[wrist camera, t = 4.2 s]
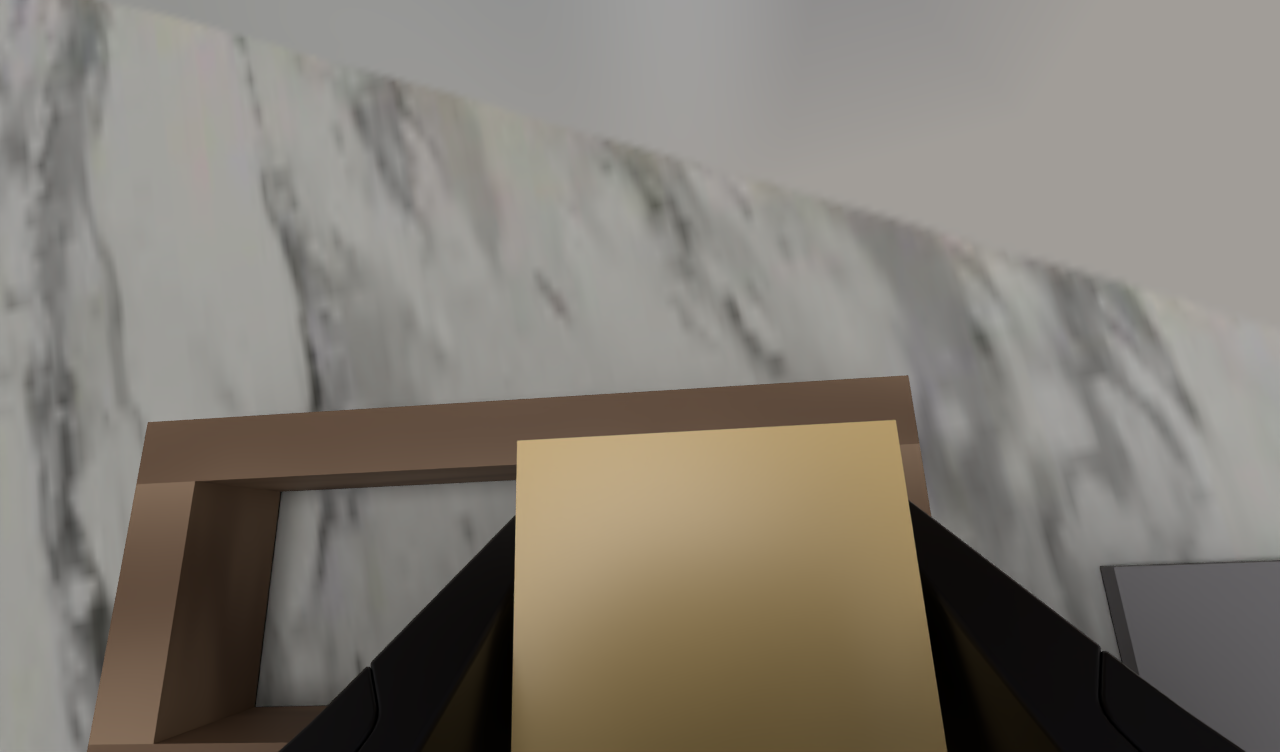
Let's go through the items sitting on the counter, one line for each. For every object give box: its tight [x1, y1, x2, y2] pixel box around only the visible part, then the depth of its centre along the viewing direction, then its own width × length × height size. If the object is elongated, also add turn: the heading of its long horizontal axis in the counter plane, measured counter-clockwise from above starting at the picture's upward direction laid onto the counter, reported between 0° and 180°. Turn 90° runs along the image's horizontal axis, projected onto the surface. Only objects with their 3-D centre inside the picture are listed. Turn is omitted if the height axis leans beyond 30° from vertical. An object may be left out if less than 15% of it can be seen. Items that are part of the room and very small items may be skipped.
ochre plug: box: [511, 420, 947, 752], centre depth 11 cm, size 4×4×9 cm
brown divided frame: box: [87, 375, 931, 752], centre depth 14 cm, size 8×18×3 cm, turn 92°
